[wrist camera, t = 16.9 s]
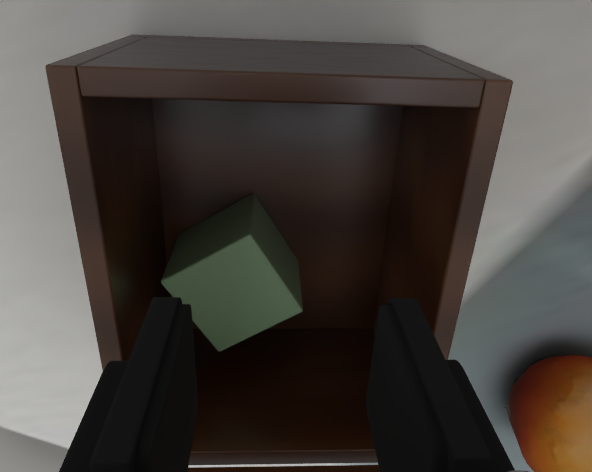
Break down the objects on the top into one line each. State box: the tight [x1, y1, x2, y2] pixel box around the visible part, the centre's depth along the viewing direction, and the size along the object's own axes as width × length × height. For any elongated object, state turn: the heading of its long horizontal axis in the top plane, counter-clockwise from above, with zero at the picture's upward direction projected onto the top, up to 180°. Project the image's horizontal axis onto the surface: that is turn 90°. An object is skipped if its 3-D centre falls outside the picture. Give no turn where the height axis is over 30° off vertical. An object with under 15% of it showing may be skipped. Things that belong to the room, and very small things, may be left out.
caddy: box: [46, 35, 513, 465], centre depth 20 cm, size 16×13×9 cm
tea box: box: [161, 193, 303, 352], centre depth 22 cm, size 4×4×4 cm
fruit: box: [505, 355, 592, 472], centre depth 29 cm, size 8×8×8 cm
